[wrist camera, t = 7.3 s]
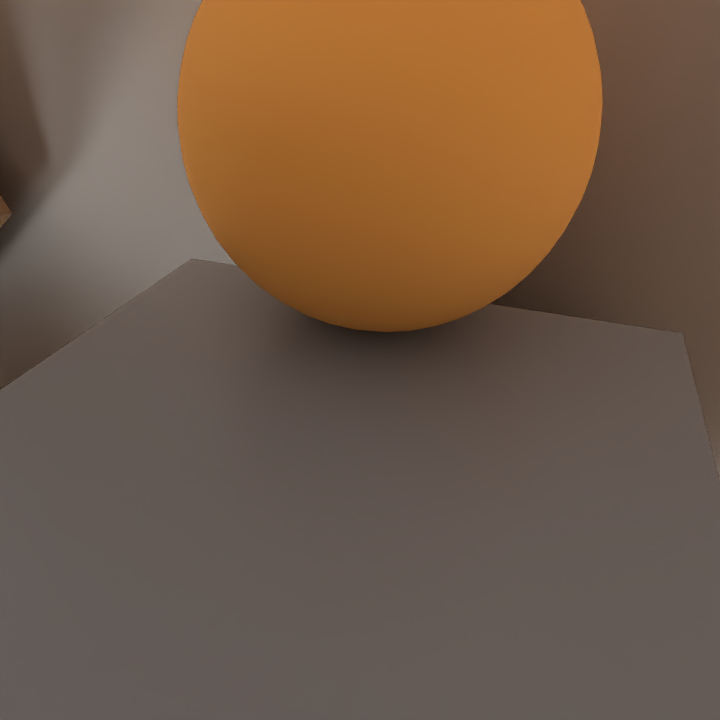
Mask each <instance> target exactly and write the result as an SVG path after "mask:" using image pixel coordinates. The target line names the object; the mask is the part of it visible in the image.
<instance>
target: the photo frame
mask: <svg viewBox="0 0 720 720" xmlns="http://www.w3.org/2000/svg"><path fill="white" fill-rule="evenodd" d="M11 214H12V213H11V211H10V210H9V208H8V206H7V205H6V203H5V202H4V200H3V198H2V197H1V195H0V228H1V227H2V225H3V224H4V223H5V222H6V220H7V219H8V218H9V217H10V215H11Z"/></svg>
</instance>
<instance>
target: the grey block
mask: <svg viewBox="0 0 720 720" xmlns="http://www.w3.org/2000/svg"><path fill="white" fill-rule="evenodd" d="M0 720H720V480H719V476H718V472H717V468H716V464H715V460H714V457H713V453H712V449H711V445H710V441H709V437H708V433H707V429H706V425H705V421H704V417H703V413H702V409H701V405H700V401H699V397H698V393H697V389H696V385H695V381H694V377H693V373H692V369H691V365H690V361H689V357H688V353H687V349H686V345H685V341H684V337H683V333H678V332H672V331H665V330H659V329H652V328H645V327H639V326H632V325H626V324H619V323H612V322H606V321H599V320H593V319H586V318H580V317H573V316H566V315H560V314H553V313H547V312H540V311H533V310H527V309H520V308H514V307H507V306H500V305H494V304H488V305H487V306H485V307H483V308H481V309H479V310H477V311H475V312H473V313H470V314H468V315H466V316H464V317H462V318H459V319H456V320H453V321H450V322H447V323H444V324H441V325H438V326H434V327H428V328H423V329H418V330H412V331H397V332H378V331H366V330H356V329H350V328H346V327H341V326H337V325H332V324H329V323H326V322H323V321H320V320H318V319H315V318H312V317H309V316H307V315H305V314H303V313H301V312H299V311H297V310H296V309H294V308H292V307H290V306H288V305H286V304H284V303H283V302H281V301H279V300H278V299H276V298H275V297H273V296H272V295H271V294H269V293H268V292H266V291H265V290H264V289H262V288H261V287H260V286H258V285H257V284H256V283H255V282H254V281H253V280H252V279H251V278H250V277H249V276H248V275H247V274H246V273H244V272H243V271H242V270H241V269H240V268H239V267H238V266H237V265H230V264H223V263H217V262H210V261H204V260H197V259H191V260H189V261H188V262H186V263H185V264H183V265H182V266H180V267H179V268H177V269H176V270H175V271H173V272H172V273H170V274H169V275H167V276H166V277H164V278H163V279H161V280H160V281H158V282H157V283H156V284H154V285H153V286H151V287H150V288H148V289H147V290H145V291H144V292H142V293H141V294H139V295H138V296H137V297H135V298H134V299H132V300H131V301H129V302H128V303H126V304H125V305H123V306H122V307H120V308H119V309H118V310H116V311H115V312H113V313H112V314H110V315H109V316H107V317H106V318H104V319H103V320H101V321H100V322H99V323H97V324H96V325H94V326H93V327H91V328H90V329H88V330H87V331H85V332H84V333H82V334H81V335H80V336H78V337H77V338H75V339H74V340H72V341H71V342H69V343H68V344H66V345H65V346H64V347H62V348H61V349H59V350H58V351H56V352H55V353H53V354H52V355H50V356H49V357H47V358H46V359H45V360H43V361H42V362H40V363H39V364H37V365H36V366H34V367H33V368H31V369H30V370H28V371H27V372H26V373H24V374H23V375H21V376H20V377H18V378H17V379H15V380H14V381H12V382H11V383H9V384H8V385H7V386H5V387H4V388H2V389H1V390H0Z"/></svg>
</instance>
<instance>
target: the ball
mask: <svg viewBox="0 0 720 720" xmlns="http://www.w3.org/2000/svg"><path fill="white" fill-rule="evenodd" d="M602 107H603V97H602V78H601V70H600V65H599V59H598V55H597V50H596V45H595V40H594V35H593V31H592V28H591V26H590V23H589V20H588V17H587V14H586V12H585V9H584V6H583V4H582V3H581V1H580V0H202V3H201V5H200V7H199V9H198V11H197V13H196V15H195V18H194V20H193V23H192V26H191V29H190V32H189V35H188V38H187V41H186V46H185V50H184V55H183V59H182V64H181V71H180V79H179V88H178V97H177V113H178V130H179V137H180V144H181V151H182V157H183V162H184V166H185V170H186V173H187V177H188V181H189V184H190V187H191V189H192V192H193V194H194V196H195V199H196V201H197V204H198V206H199V208H200V210H201V213H202V215H203V217H204V219H205V220H206V222H207V224H208V226H209V227H210V229H211V231H212V233H213V234H214V236H215V238H216V239H217V241H218V242H219V243H220V245H221V246H222V247H223V248H224V250H225V251H226V252H227V254H228V255H229V256H230V257H231V259H232V260H233V261H234V262H235V263H236V264H237V265H238V267H239V268H240V269H241V270H242V271H243V272H244V273H246V274H247V275H248V276H249V277H250V278H251V279H252V280H253V281H254V282H255V283H256V284H257V285H258V286H260V287H261V288H262V289H264V290H265V291H266V292H268V293H269V294H271V295H272V296H273V297H275V298H276V299H278V300H279V301H281V302H283V303H284V304H286V305H288V306H290V307H292V308H294V309H296V310H297V311H299V312H301V313H303V314H305V315H307V316H309V317H312V318H315V319H318V320H320V321H323V322H326V323H329V324H332V325H337V326H341V327H346V328H350V329H356V330H366V331H378V332H397V331H412V330H418V329H423V328H428V327H434V326H438V325H441V324H444V323H447V322H450V321H453V320H456V319H459V318H462V317H464V316H466V315H468V314H470V313H473V312H475V311H477V310H479V309H481V308H483V307H485V306H487V305H488V304H490V303H491V302H493V301H495V300H496V299H498V298H499V297H501V296H502V295H504V294H506V293H507V292H509V291H510V290H511V289H512V288H513V287H515V286H516V285H517V284H518V283H519V282H521V281H522V280H523V279H524V278H525V277H527V276H528V275H529V274H530V273H531V272H532V271H533V270H534V269H535V268H536V266H537V265H538V264H539V263H540V262H541V261H542V260H543V259H544V258H545V257H546V256H547V255H548V253H549V252H550V251H551V249H552V248H553V246H554V245H555V244H556V242H557V241H558V239H559V238H560V237H561V235H562V234H563V232H564V231H565V229H566V228H567V226H568V224H569V222H570V221H571V219H572V217H573V215H574V213H575V211H576V209H577V208H578V206H579V204H580V202H581V200H582V198H583V195H584V192H585V190H586V187H587V184H588V182H589V179H590V177H591V174H592V171H593V166H594V162H595V158H596V153H597V149H598V145H599V138H600V130H601V118H602Z"/></svg>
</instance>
